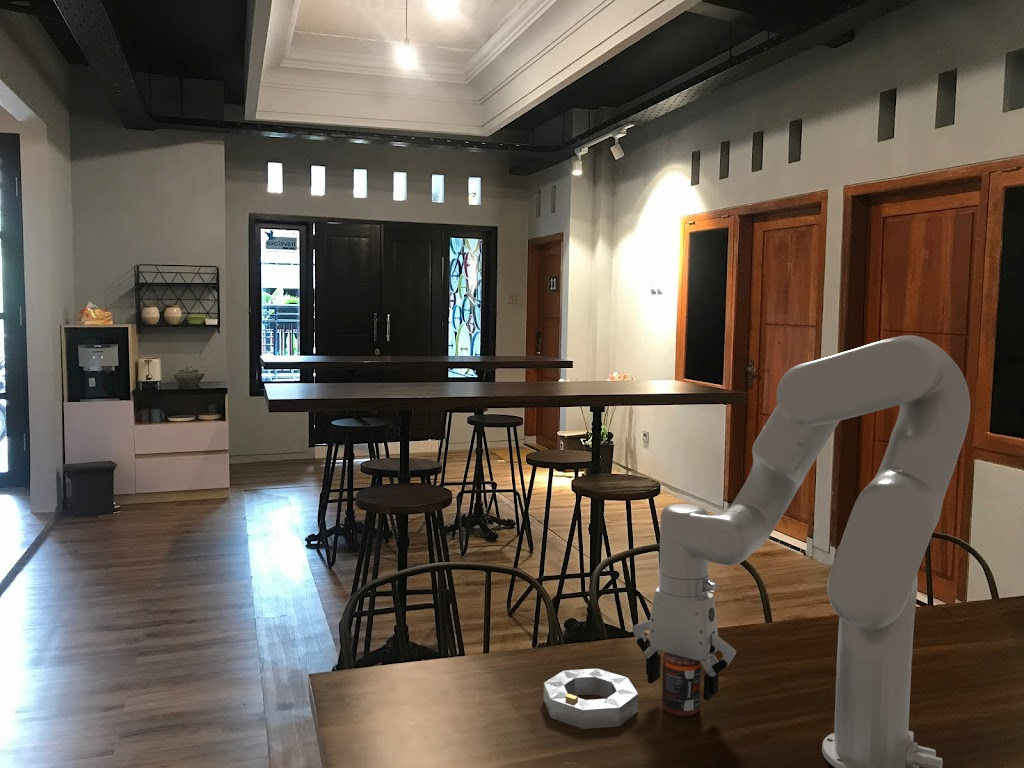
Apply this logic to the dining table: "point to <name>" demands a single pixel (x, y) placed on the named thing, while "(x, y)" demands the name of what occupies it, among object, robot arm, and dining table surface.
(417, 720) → the dining table surface
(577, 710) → the grey octagonal ring
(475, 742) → the dining table surface
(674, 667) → the supplement bottle
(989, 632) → the dining table surface
